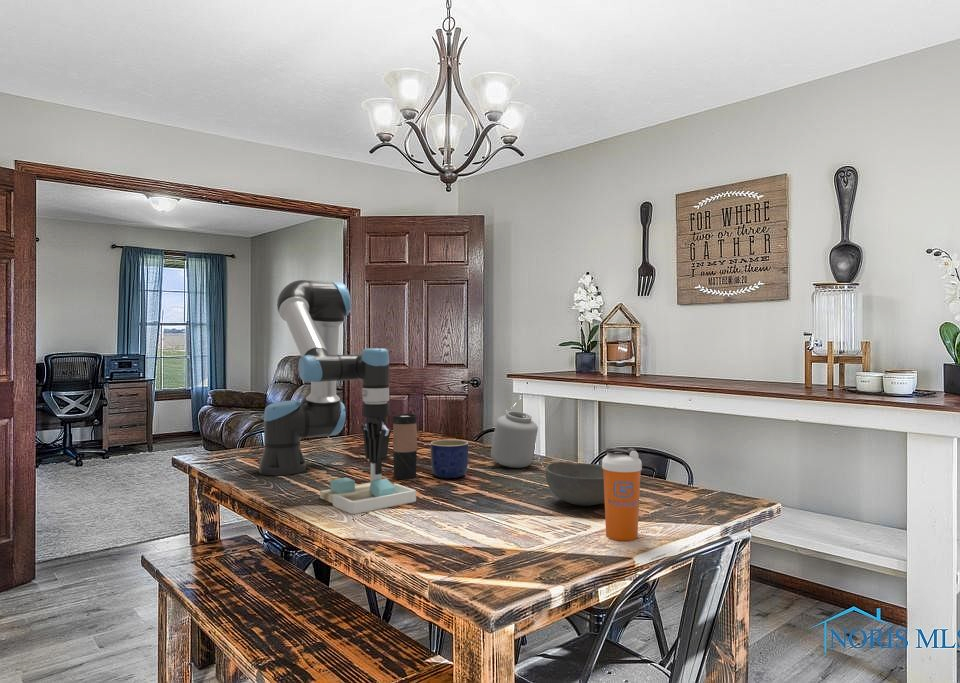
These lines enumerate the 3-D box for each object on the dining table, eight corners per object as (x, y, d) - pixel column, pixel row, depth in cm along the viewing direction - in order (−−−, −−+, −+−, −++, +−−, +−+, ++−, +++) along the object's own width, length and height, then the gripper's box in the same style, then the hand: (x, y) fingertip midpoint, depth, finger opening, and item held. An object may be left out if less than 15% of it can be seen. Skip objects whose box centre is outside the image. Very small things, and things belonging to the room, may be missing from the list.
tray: (332, 505, 173) (332, 494, 173) (396, 493, 186) (395, 483, 185) (352, 514, 164) (352, 502, 164) (417, 501, 177) (417, 490, 177)
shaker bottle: (597, 530, 151) (597, 446, 150) (634, 529, 151) (634, 445, 151) (608, 543, 142) (608, 453, 142) (647, 541, 143) (647, 452, 142)
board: (320, 497, 181) (320, 490, 181) (375, 488, 192) (375, 481, 192) (336, 505, 173) (336, 497, 173) (393, 494, 185) (393, 487, 185)
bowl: (574, 518, 160) (574, 479, 160) (531, 500, 178) (531, 464, 178) (636, 508, 170) (636, 471, 170) (589, 491, 188) (589, 457, 188)
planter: (423, 478, 205) (423, 444, 205) (440, 470, 217) (440, 438, 217) (459, 481, 201) (459, 446, 201) (474, 473, 212) (474, 440, 212)
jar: (550, 466, 224) (550, 394, 223) (526, 473, 212) (526, 398, 212) (506, 459, 235) (506, 391, 235) (482, 466, 224) (482, 394, 224)
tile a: (369, 490, 180) (371, 480, 180) (384, 487, 184) (386, 478, 183) (377, 499, 177) (379, 489, 176) (393, 496, 180) (395, 487, 179)
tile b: (330, 490, 181) (330, 479, 181) (346, 487, 185) (346, 477, 184) (338, 493, 177) (338, 483, 177) (354, 491, 181) (354, 480, 181)
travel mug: (412, 480, 203) (412, 417, 203) (389, 478, 204) (389, 416, 204) (419, 474, 210) (419, 414, 210) (397, 473, 212) (397, 413, 212)
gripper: (352, 401, 185) (353, 483, 185) (375, 405, 175) (376, 491, 175) (375, 399, 189) (375, 479, 190) (399, 403, 179) (399, 487, 180)
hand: (376, 485), depth 182 cm, fingers closed
